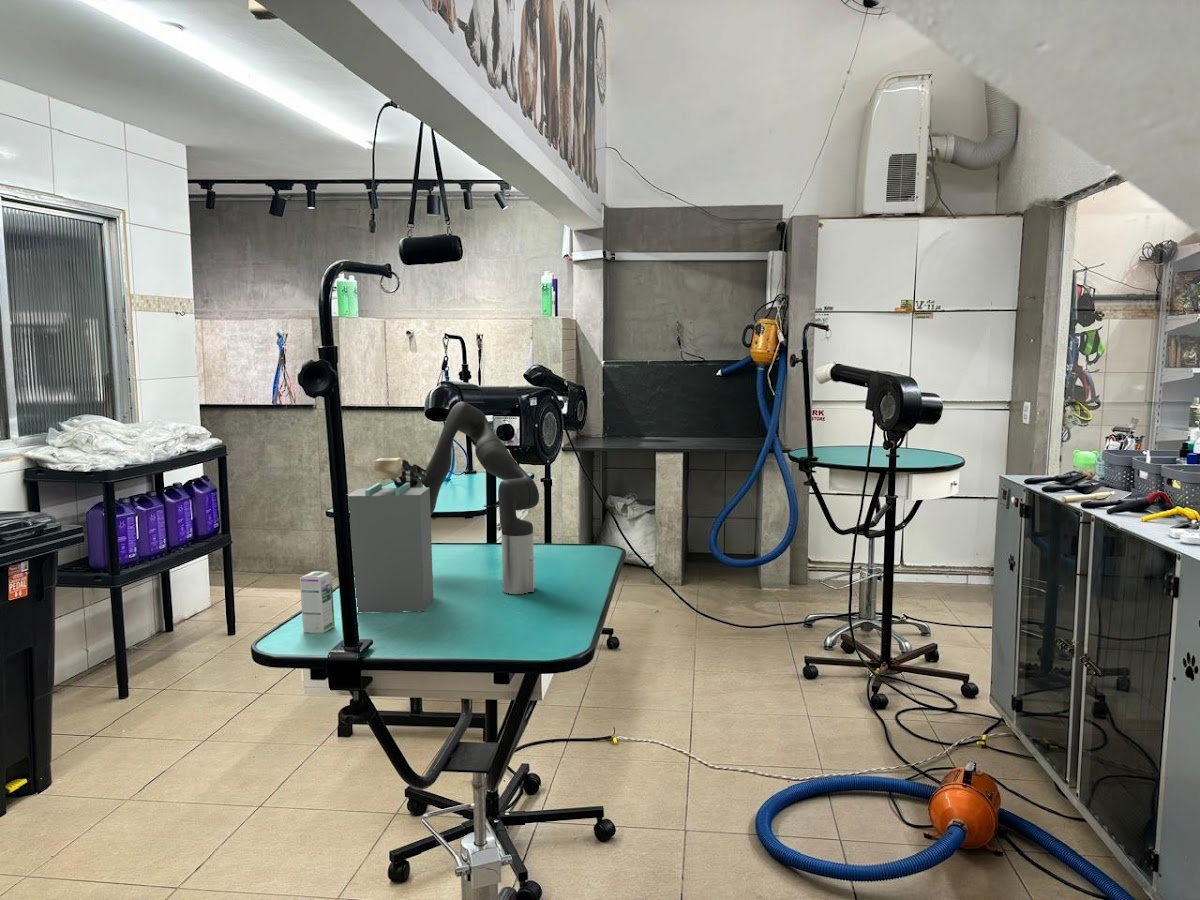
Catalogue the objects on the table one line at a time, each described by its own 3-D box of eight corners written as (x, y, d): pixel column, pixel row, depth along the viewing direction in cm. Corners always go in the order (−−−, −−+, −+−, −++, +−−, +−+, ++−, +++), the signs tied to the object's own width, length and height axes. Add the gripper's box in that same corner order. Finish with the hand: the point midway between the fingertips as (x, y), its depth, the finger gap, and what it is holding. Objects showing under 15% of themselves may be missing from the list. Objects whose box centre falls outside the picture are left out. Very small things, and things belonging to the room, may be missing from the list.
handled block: (411, 469, 250) (411, 452, 250) (397, 478, 230) (396, 460, 230) (391, 469, 250) (390, 452, 250) (374, 478, 230) (374, 460, 230)
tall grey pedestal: (433, 597, 243) (429, 482, 240) (424, 611, 229) (419, 489, 226) (363, 598, 243) (358, 483, 240) (349, 613, 229) (344, 490, 226)
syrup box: (323, 633, 212) (320, 576, 210) (302, 632, 213) (299, 576, 211) (335, 626, 217) (332, 571, 216) (314, 625, 218) (311, 570, 217)
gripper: (387, 473, 262) (374, 450, 246) (432, 472, 262) (422, 450, 246) (385, 496, 259) (371, 474, 243) (431, 495, 259) (420, 474, 243)
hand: (397, 462), depth 245 cm, fingers closed on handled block, 3 cm apart
